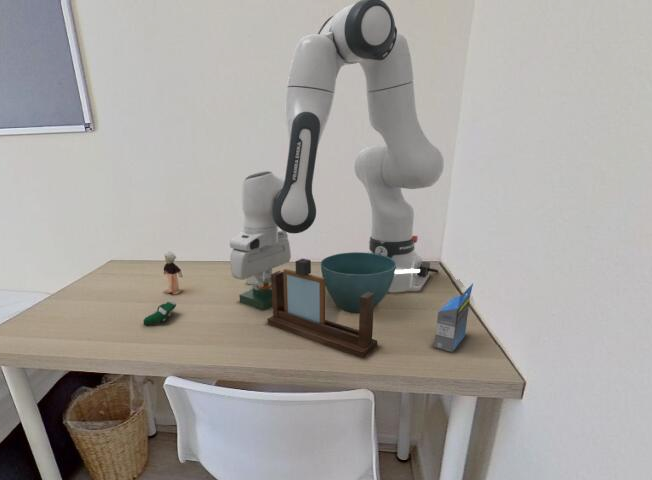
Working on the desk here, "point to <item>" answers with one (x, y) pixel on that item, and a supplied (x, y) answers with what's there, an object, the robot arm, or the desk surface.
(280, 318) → the window frame
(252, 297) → the green push button base
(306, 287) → the window pane
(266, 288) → the latch button
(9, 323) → the desk surface
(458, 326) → the blue cardboard box
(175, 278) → the grandmother figurine
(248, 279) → the white cube
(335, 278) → the teal bowl
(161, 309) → the green shoe
